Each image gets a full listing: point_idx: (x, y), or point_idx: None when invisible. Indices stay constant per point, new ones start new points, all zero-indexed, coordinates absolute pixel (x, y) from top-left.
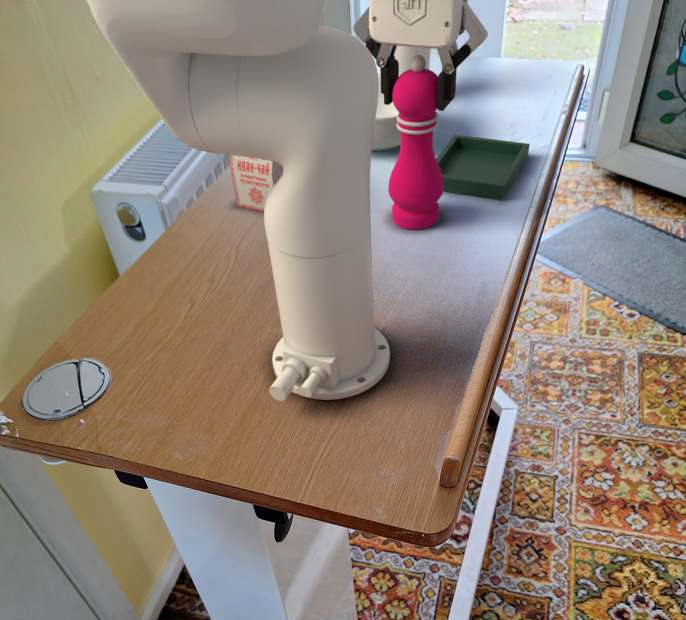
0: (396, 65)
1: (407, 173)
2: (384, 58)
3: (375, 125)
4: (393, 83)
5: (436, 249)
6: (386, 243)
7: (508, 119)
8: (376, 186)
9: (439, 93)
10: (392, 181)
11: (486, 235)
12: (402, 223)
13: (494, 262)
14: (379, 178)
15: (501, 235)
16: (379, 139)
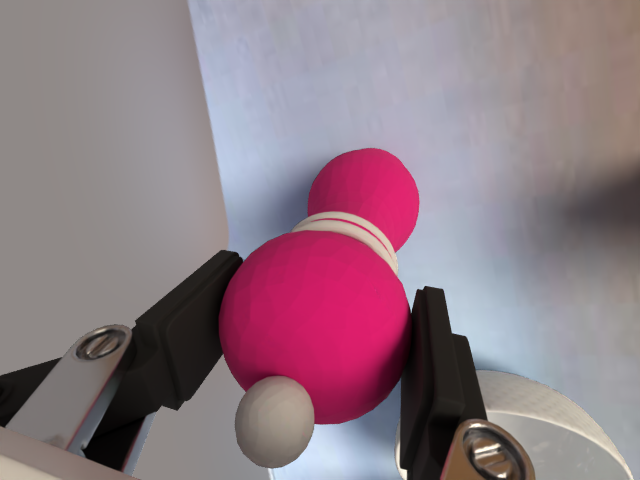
0: (404, 446)
1: (363, 178)
2: (468, 474)
3: (490, 397)
4: (411, 363)
5: (308, 96)
6: (401, 89)
7: (314, 431)
8: (462, 278)
9: (201, 277)
10: (404, 181)
11: (251, 161)
12: (382, 151)
13: (214, 85)
14: (461, 302)
15: (232, 166)
16: (477, 376)
